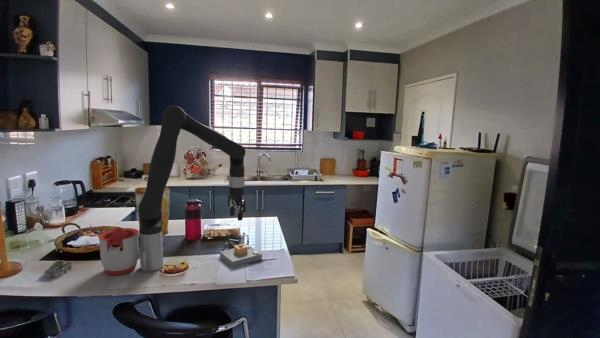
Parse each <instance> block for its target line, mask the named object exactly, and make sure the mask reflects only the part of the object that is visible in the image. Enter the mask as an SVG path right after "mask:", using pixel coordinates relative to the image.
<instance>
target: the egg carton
mask: <svg viewBox="0 0 600 338" xmlns="http://www.w3.org/2000/svg"><path fill="white" fill-rule="evenodd" d="M72 269H73V261H66V262H64V261H63V260H59V259H57V260H55V261H54V262H53V263H52V265H50V266H49V267H47V268H46V269H45V270H44V271H43V274H45V277H46V278H48V279H49V278H51V277H52V278H53V277H54V278H59V277H60V278H61V277H63V276H64V274H65V273H68V272H69V270H72Z"/></svg>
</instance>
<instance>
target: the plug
mask: <svg viewBox="0 0 600 338" xmlns="http://www.w3.org/2000/svg"><path fill="white" fill-rule="evenodd" d="M233 248H234V253H235V254H237V255H238V256H240V255H244V254H247V246H245V244H244V243H242V244H238V245H234V246H233Z"/></svg>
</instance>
